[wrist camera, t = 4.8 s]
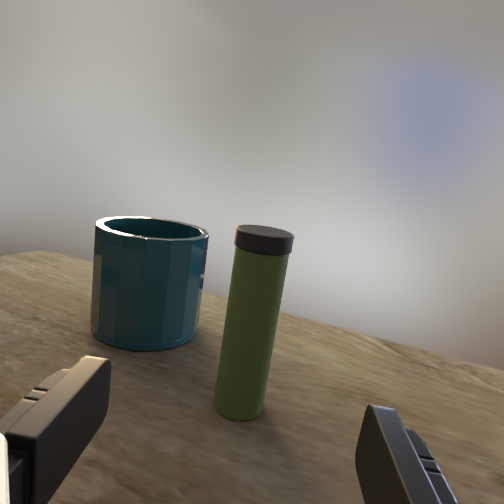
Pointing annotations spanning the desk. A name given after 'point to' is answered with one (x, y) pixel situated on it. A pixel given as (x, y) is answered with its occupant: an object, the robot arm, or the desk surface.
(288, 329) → the desk surface
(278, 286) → the tube
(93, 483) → the desk surface
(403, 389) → the desk surface
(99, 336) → the cup
